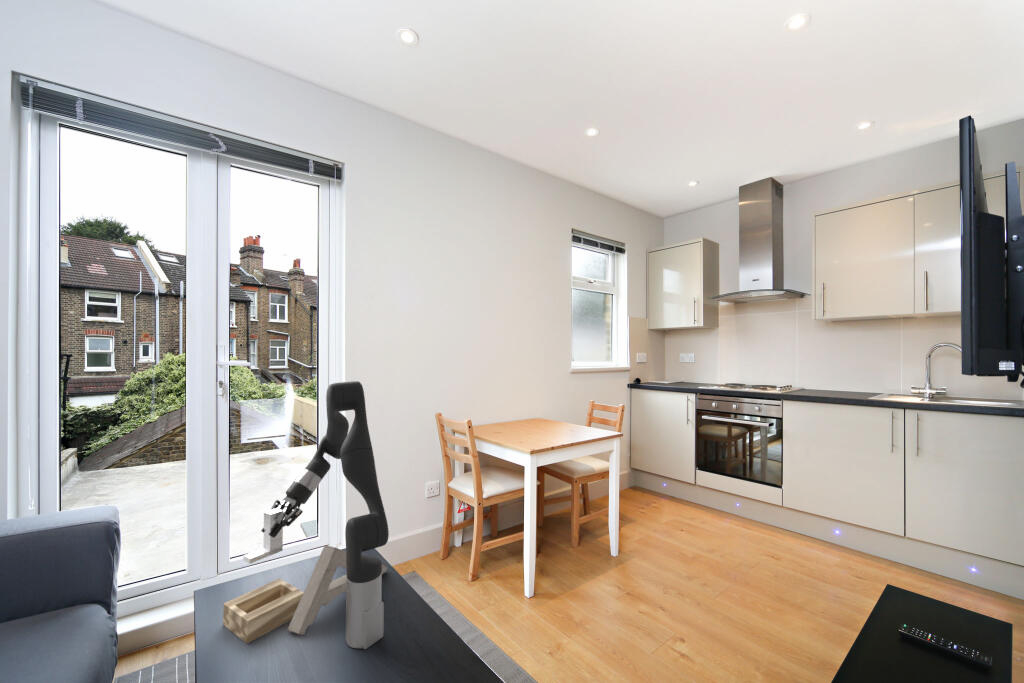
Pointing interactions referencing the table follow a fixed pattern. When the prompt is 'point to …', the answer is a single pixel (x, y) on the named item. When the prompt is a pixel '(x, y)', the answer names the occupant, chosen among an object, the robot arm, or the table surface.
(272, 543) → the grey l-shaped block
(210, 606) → the table surface
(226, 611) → the beech well block
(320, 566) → the grey letter a
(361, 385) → the robot arm
